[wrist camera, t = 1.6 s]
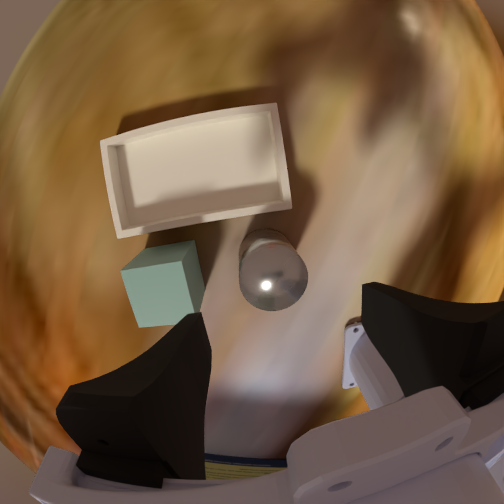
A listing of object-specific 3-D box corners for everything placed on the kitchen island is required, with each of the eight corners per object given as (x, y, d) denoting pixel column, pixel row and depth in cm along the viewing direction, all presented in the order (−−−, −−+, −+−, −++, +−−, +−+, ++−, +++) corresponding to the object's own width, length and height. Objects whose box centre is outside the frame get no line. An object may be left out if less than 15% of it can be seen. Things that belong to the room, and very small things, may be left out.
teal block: (194, 239, 20) (181, 261, 15) (205, 289, 21) (196, 321, 16) (145, 248, 20) (120, 270, 15) (157, 295, 21) (139, 327, 16)
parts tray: (272, 109, 18) (276, 102, 15) (286, 204, 20) (292, 208, 17) (112, 143, 18) (99, 140, 15) (128, 232, 20) (117, 238, 17)
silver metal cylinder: (288, 224, 20) (304, 241, 15) (294, 275, 21) (310, 304, 16) (234, 233, 20) (233, 252, 15) (243, 283, 21) (245, 315, 16)
